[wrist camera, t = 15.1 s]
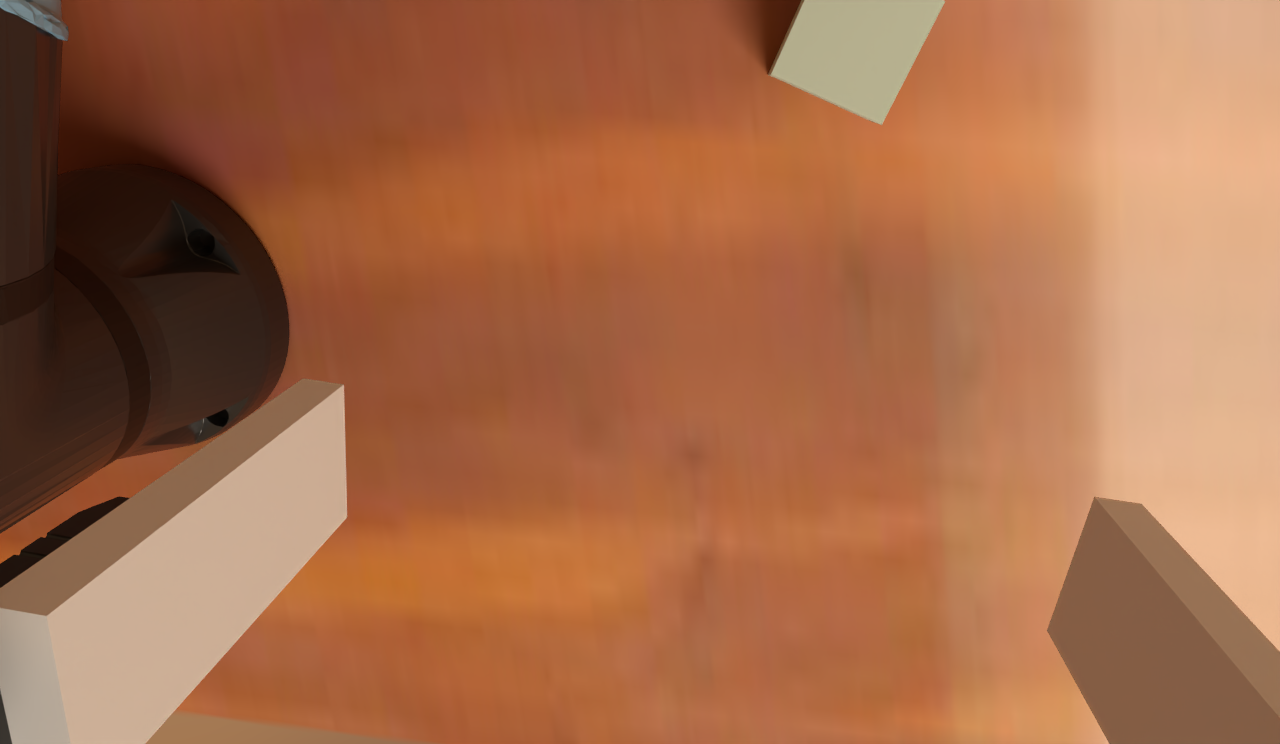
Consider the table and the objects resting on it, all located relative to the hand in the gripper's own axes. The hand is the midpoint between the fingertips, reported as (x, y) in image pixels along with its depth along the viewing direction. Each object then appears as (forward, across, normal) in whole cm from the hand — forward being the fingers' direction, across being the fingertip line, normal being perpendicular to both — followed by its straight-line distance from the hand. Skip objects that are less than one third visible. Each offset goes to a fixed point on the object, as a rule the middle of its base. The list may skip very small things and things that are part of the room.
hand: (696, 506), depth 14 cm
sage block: (+27, +4, +9) cm, 29 cm away
